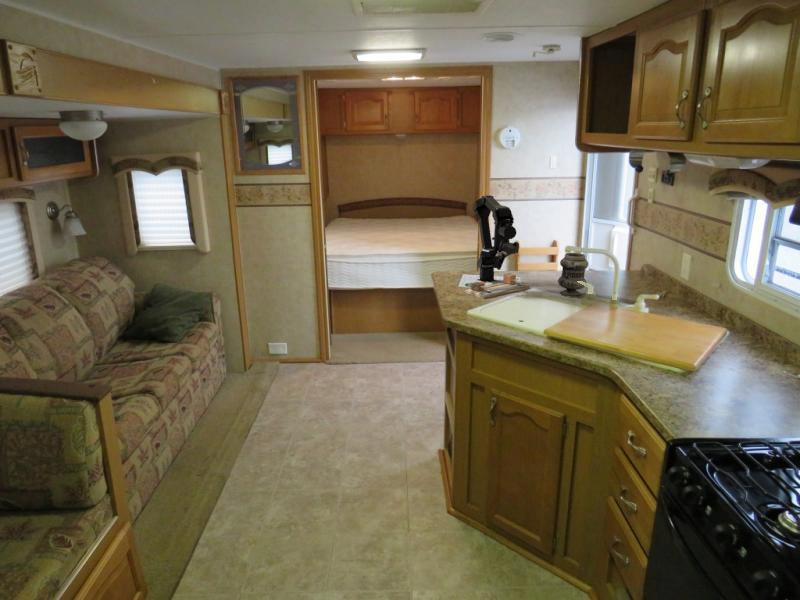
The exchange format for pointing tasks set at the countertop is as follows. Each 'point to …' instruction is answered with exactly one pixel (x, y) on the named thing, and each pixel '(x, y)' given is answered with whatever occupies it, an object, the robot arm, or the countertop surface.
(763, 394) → the countertop surface
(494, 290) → the beam board
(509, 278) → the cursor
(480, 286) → the fixed point
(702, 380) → the countertop surface
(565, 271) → the apothecary jar
